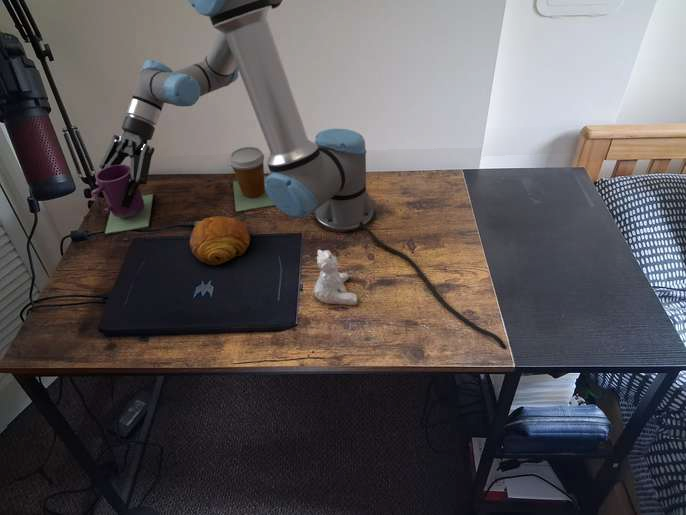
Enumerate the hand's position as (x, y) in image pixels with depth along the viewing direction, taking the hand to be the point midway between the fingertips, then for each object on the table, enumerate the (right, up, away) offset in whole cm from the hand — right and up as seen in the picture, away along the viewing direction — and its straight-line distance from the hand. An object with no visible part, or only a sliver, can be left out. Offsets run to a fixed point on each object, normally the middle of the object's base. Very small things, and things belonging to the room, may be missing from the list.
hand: (112, 202), depth 120 cm
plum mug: (+1, -2, +4) cm, 4 cm away
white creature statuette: (+59, -23, -21) cm, 67 cm away
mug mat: (+2, -3, +6) cm, 7 cm away
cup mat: (+35, +4, +11) cm, 37 cm away
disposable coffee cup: (+35, +4, +11) cm, 37 cm away
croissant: (+31, -12, -7) cm, 34 cm away
